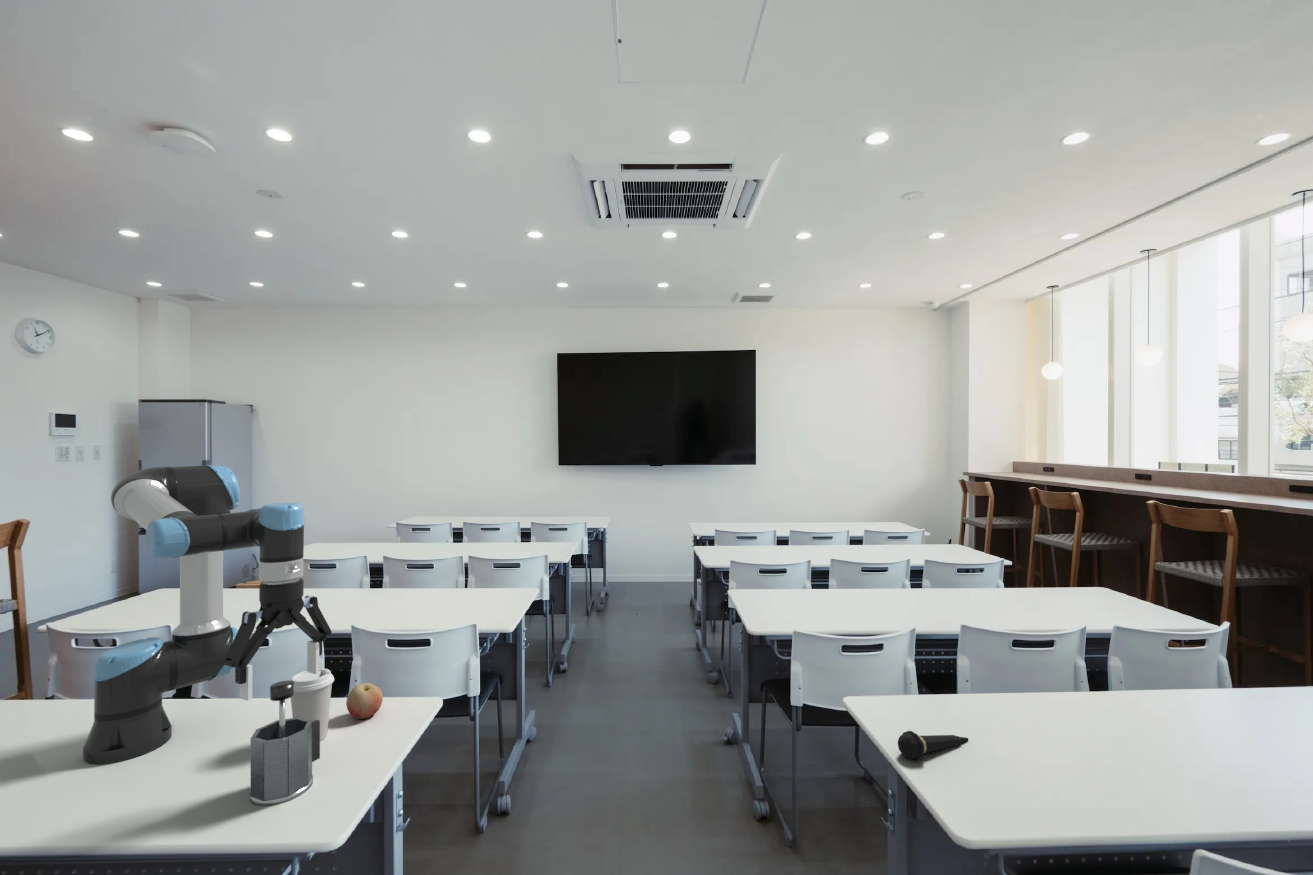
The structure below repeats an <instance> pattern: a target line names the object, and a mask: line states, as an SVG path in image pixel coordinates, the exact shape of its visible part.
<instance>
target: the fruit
mask: <svg viewBox="0 0 1313 875" xmlns="http://www.w3.org/2000/svg"><path fill="white" fill-rule="evenodd" d="M383 699H384V696H383V692H382V690H381V688H380V687H379V686H377V685H374V684H373V683H370V682H364V683H363V682H362V683H359V684H357V685H355V686H354V687H353V688H352V689H351V690H350V691H349V694H348V696H347V698H346V703H345V704H346V709H347V712H348V713H349V714H350V715H351V716H352V717H354V718H355V719H361V720H365V719H368V718H370V717H373V716H374V715H375V714H376V713H378V711H379V710H380V708H381V706H382V703H383Z"/></svg>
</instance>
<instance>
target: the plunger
mask: <svg viewBox="0 0 1313 875" xmlns="http://www.w3.org/2000/svg"><path fill="white" fill-rule="evenodd" d="M269 689H270V690H269V697H270V698H269V699H270V701H272V702H278V705H279V706H278V712H279V713H278V720H279V739H280V738H285V719H286V700H287V699H291V697H292V696H293V695H294V682H293V681H291V680H283V681H282V680H281V681H278V682H276V683H272V684H271V685H270V686H269Z"/></svg>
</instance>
